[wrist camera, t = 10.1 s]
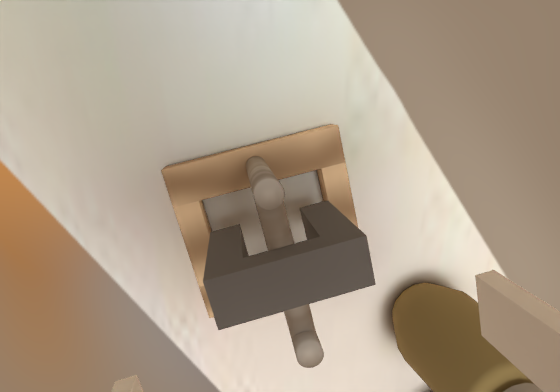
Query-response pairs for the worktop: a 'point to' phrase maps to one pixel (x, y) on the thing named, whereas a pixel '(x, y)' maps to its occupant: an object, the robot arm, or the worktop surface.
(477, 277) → the robot arm
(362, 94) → the worktop surface
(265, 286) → the grey notched block
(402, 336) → the squeeze bottle
